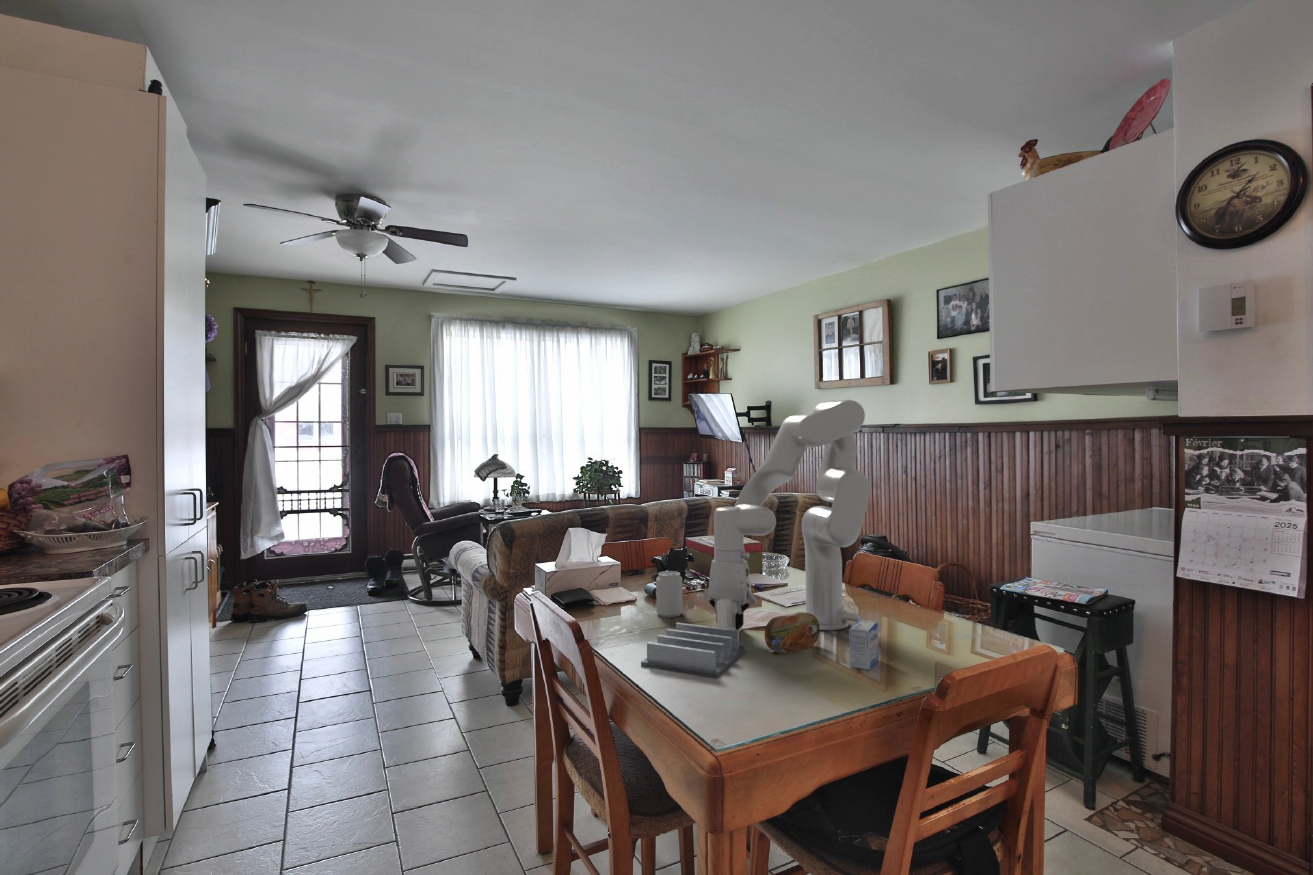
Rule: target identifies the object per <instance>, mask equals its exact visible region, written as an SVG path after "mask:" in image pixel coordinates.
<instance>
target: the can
mask: <svg viewBox="0 0 1313 875" xmlns="http://www.w3.org/2000/svg"><path fill="white" fill-rule="evenodd" d="M655 578H656V582H655V585H656V588H655V589H656V590H655V591H656V613H657V614H658V615H659V616H660V617H663V618H677V617H680V616H681V614H683V612H684V610H683V609H684V607H683V606H684V605H683V600H684V599H683V577H682V576H681V572H678V571H676V570H675V571H674V570H673V571H672V570H665V571H660V572H658V576H657V577H655Z"/></svg>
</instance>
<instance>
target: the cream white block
mask: <svg viewBox="0 0 1313 875" xmlns="http://www.w3.org/2000/svg"><path fill="white" fill-rule="evenodd" d="M736 613H737V608H736V603H735V602H733V601H732V599H726V598H722V599H720V600H719V601H717V622H716V627H717V628H725V629H733V630H737V629H736V628H735V614H736ZM742 630H743V626H742V627H741V628H740V629H739V633H740V632H741V631H742Z"/></svg>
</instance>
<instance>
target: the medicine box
mask: <svg viewBox="0 0 1313 875" xmlns="http://www.w3.org/2000/svg"><path fill="white" fill-rule="evenodd" d="M878 625H879V624H878V622H877V621H872V620H867V619H866V620H864V619H863V620H862V619H859V621H858V622H856V623H854V624H853V625H852V626H851V627H850V628H849V629H848V640H849V641H848V645H849V646H848V647H849V667H850V668H855V669H861V670H865V671H870V670H871V669H872V668H873V666H874V665H875V664H876V663H877V661H878V660H879V627H878Z"/></svg>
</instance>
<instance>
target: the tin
mask: <svg viewBox="0 0 1313 875" xmlns="http://www.w3.org/2000/svg"><path fill="white" fill-rule="evenodd" d="M820 631H821V630H820V628H819V623H818V620H817V619H816V617H815V616H814V615H812V614H810V613H806V611H799V612H794V613H789V614H785V615H778V616H774V617H773V618H771V619H770V620H769V621H768V623H767V624H766V625H765V628H764V640H765V644H766V646H767V647H768V649H770V650H772V651H774V652H776V653H777V654H781V655H784V654H790V653H793V652H797V651H802V650H806V649H810V648H811V647H813V646H815V644H816V643H817V641H818V639H819V636H820Z"/></svg>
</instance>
